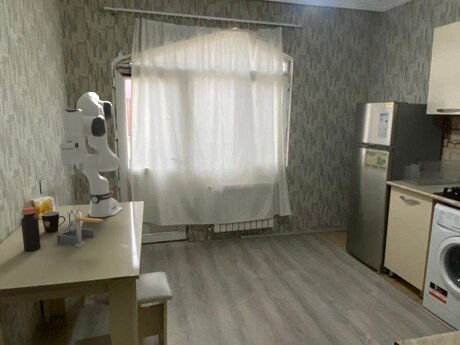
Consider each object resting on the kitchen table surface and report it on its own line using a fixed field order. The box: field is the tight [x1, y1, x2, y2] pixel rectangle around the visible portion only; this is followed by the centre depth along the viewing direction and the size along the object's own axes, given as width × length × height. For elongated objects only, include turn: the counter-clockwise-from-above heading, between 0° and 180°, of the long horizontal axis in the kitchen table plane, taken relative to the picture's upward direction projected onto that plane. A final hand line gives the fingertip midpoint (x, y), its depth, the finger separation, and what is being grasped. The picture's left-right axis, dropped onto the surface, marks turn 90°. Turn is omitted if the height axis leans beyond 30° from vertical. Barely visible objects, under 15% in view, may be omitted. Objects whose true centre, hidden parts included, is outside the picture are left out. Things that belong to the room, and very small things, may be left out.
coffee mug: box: [40, 210, 66, 234], centre depth 173 cm, size 12×9×10 cm
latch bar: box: [75, 216, 105, 229], centre depth 152 cm, size 15×3×4 cm, turn 77°
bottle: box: [20, 206, 42, 253], centre depth 149 cm, size 7×7×20 cm
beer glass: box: [66, 209, 84, 240], centre depth 161 cm, size 7×7×15 cm
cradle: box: [56, 221, 95, 248], centre depth 160 cm, size 13×14×12 cm
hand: (76, 173), depth 150 cm, fingers open, 8 cm apart
